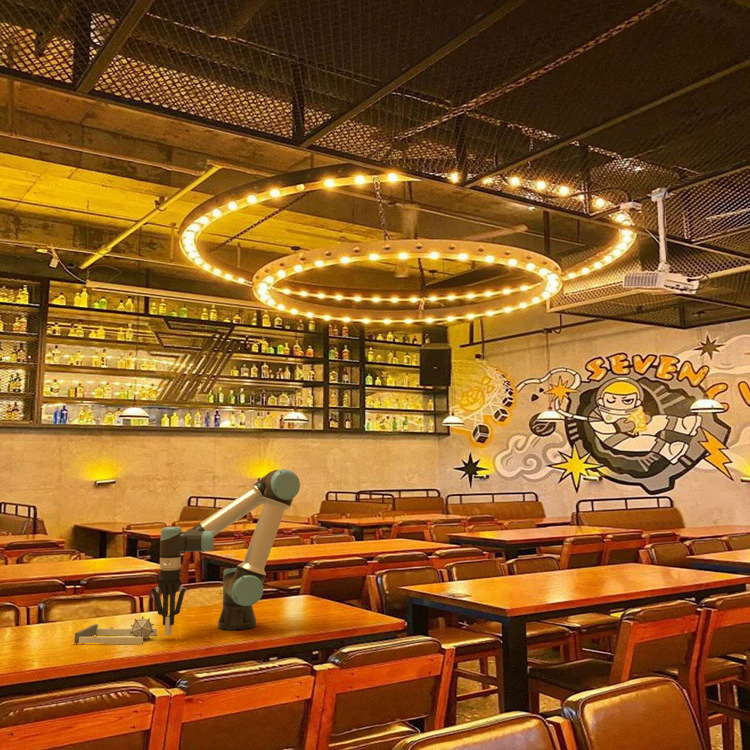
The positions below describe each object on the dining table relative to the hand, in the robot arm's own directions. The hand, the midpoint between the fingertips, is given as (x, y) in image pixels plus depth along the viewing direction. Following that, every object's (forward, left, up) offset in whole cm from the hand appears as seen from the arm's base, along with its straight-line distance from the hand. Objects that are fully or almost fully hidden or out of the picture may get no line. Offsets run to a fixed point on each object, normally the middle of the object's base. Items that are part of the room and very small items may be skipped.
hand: (168, 634), depth 274 cm
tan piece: (+19, 0, -2) cm, 20 cm away
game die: (+10, 0, -2) cm, 10 cm away
